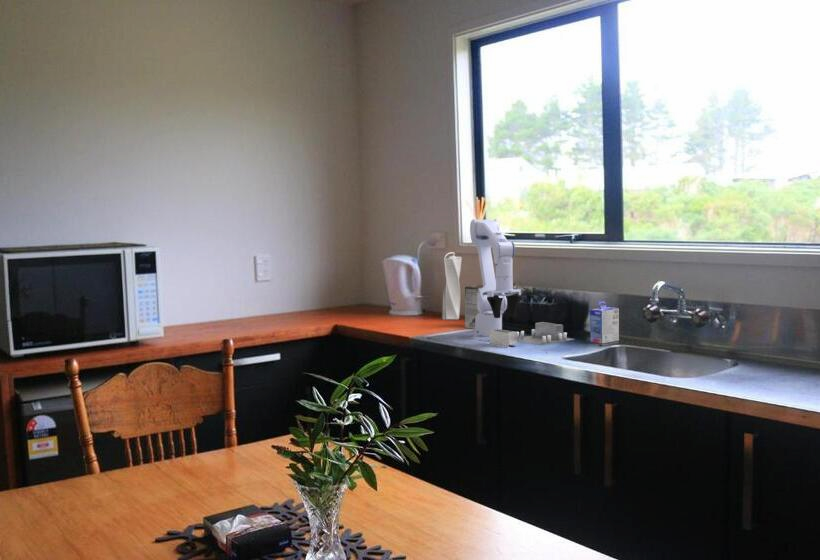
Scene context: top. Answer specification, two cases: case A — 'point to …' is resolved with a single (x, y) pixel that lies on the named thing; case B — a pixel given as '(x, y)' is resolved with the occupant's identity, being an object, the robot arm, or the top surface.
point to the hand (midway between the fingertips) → (504, 317)
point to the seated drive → (548, 330)
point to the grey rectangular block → (502, 337)
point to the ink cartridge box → (604, 324)
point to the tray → (542, 340)
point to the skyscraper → (452, 288)
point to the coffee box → (471, 305)
